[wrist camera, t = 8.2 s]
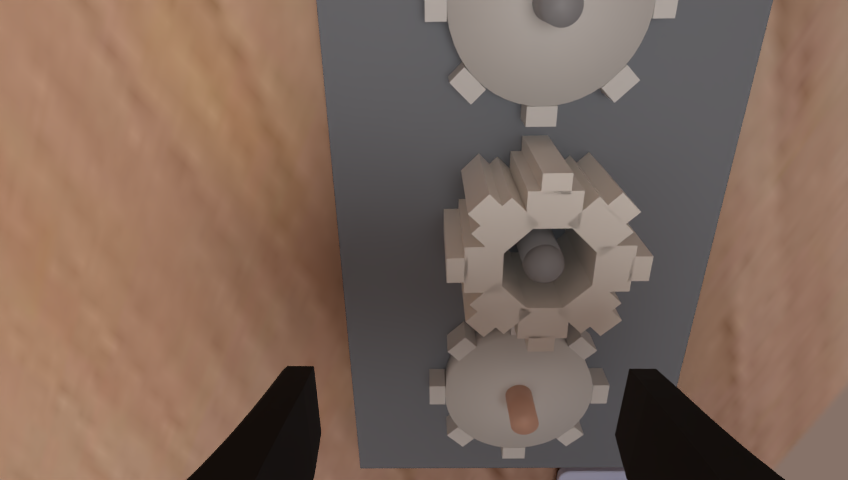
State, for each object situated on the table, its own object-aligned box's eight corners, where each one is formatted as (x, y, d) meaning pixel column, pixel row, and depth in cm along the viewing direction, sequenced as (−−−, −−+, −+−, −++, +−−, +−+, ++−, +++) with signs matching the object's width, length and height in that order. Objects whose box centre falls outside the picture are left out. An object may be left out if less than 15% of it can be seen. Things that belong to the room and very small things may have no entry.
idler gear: (602, 290, 20) (635, 350, 17) (443, 291, 20) (446, 352, 17) (626, 134, 17) (670, 171, 14) (443, 136, 17) (446, 174, 14)
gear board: (646, 445, 25) (691, 544, 21) (363, 447, 25) (350, 545, 21) (801, -221, 14) (959, -297, 10) (305, -210, 15) (253, -282, 10)
